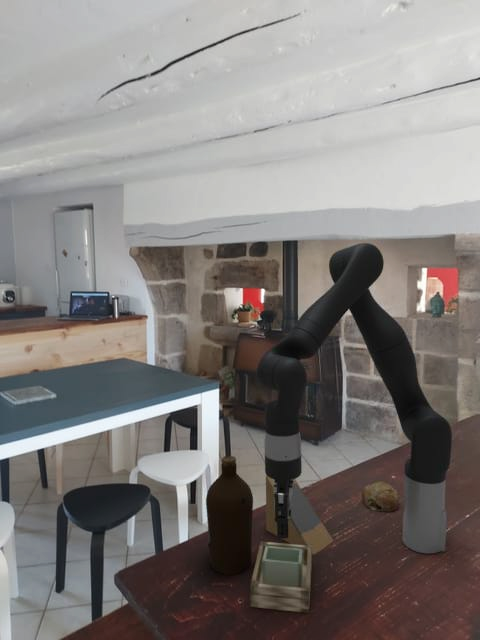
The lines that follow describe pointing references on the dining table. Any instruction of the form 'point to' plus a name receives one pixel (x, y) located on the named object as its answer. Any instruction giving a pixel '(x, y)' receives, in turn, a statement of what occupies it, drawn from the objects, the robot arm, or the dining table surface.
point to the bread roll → (380, 497)
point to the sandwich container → (298, 520)
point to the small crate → (282, 566)
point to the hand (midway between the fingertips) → (284, 526)
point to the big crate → (282, 595)
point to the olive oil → (229, 520)
